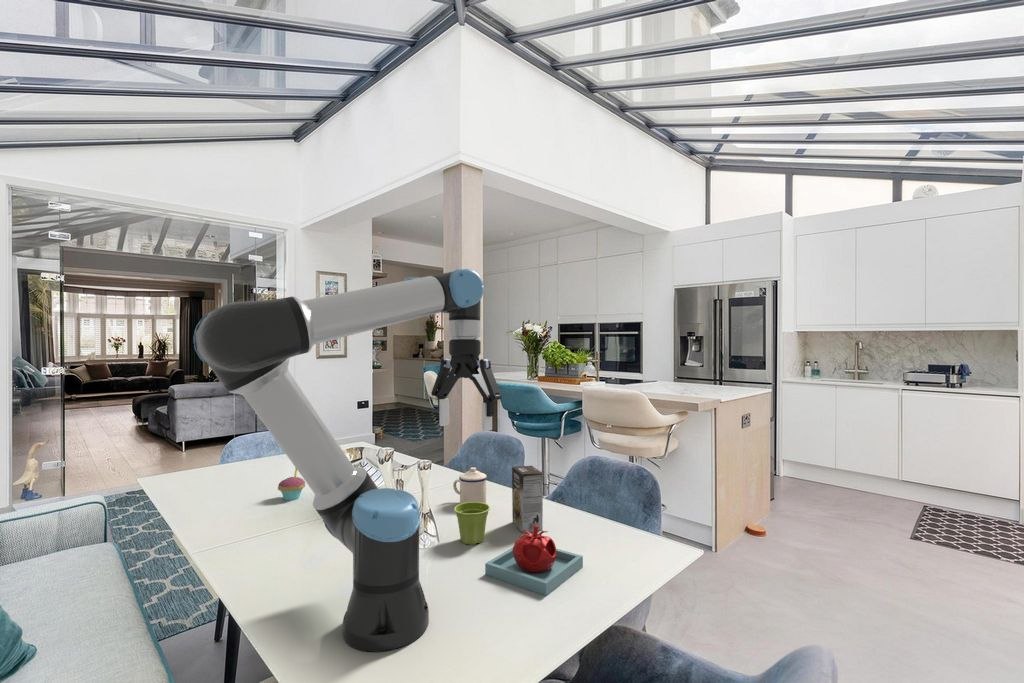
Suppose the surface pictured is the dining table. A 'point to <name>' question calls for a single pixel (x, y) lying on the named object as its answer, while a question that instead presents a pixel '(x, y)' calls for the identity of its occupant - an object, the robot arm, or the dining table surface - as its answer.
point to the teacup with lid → (471, 486)
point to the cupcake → (291, 487)
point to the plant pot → (472, 521)
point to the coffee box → (527, 497)
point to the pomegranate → (534, 551)
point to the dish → (537, 582)
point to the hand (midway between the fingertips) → (465, 428)
